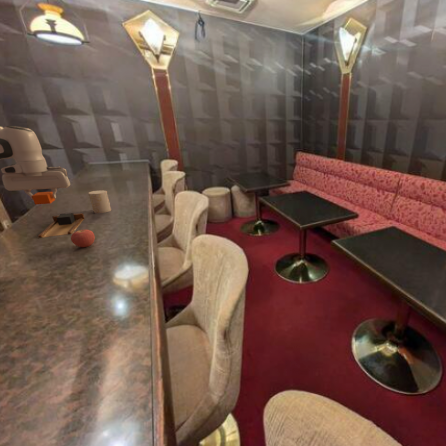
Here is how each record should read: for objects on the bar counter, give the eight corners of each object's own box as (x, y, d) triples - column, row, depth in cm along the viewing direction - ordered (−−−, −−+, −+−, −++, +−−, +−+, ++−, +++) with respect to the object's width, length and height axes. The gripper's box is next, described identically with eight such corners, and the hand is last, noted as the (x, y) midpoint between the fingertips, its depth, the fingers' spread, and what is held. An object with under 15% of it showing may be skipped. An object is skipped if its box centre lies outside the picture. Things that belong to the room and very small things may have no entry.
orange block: (35, 204, 106) (31, 195, 105) (40, 201, 111) (37, 192, 109) (50, 203, 108) (47, 194, 107) (55, 200, 113) (52, 191, 112)
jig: (37, 239, 109) (34, 231, 108) (55, 222, 127) (52, 216, 126) (72, 235, 114) (70, 227, 113) (84, 219, 132) (82, 213, 131)
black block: (58, 225, 122) (56, 217, 121) (62, 221, 127) (60, 214, 126) (71, 224, 124) (69, 216, 123) (75, 220, 129) (73, 213, 128)
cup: (90, 213, 142) (84, 193, 138) (104, 209, 149) (98, 189, 145) (101, 214, 140) (96, 194, 136) (114, 210, 148) (110, 191, 143)
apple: (84, 251, 101) (78, 233, 98) (69, 249, 102) (63, 231, 99) (101, 243, 107) (96, 226, 105) (87, 241, 109) (82, 224, 106)
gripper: (67, 165, 111) (76, 195, 116) (3, 167, 102) (15, 199, 107) (62, 167, 106) (72, 198, 111) (-6, 169, 97) (8, 202, 102)
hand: (44, 198), depth 109 cm, fingers closed on orange block, 5 cm apart
